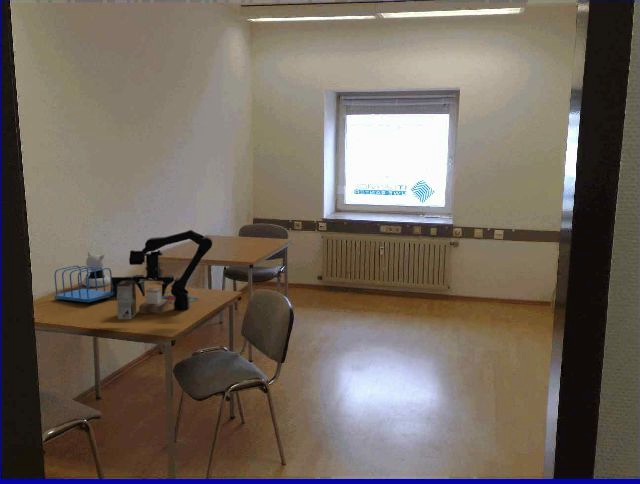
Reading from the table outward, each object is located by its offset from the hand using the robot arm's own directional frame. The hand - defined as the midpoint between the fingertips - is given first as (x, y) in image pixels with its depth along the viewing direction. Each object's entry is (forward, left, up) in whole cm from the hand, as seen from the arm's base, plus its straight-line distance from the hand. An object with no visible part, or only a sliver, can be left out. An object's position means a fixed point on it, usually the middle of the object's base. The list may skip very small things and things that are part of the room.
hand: (153, 296), depth 269 cm
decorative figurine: (+49, -50, -7) cm, 70 cm away
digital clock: (+26, -35, -7) cm, 44 cm away
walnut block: (0, 0, -6) cm, 7 cm away
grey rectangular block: (+25, -24, -6) cm, 36 cm away
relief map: (-3, -22, -7) cm, 24 cm away
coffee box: (+8, +13, -7) cm, 17 cm away
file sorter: (+43, -20, -6) cm, 48 cm away
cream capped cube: (0, 0, -3) cm, 3 cm away
